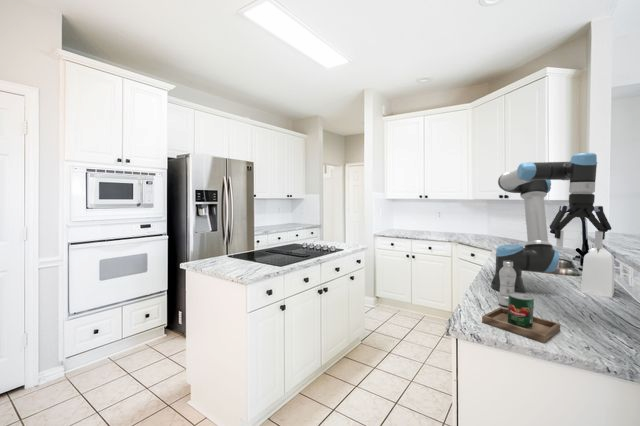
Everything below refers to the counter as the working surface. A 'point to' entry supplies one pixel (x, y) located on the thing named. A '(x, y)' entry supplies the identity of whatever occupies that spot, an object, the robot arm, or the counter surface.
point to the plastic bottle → (506, 282)
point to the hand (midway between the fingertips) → (578, 247)
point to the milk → (598, 273)
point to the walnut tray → (538, 332)
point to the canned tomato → (520, 310)
